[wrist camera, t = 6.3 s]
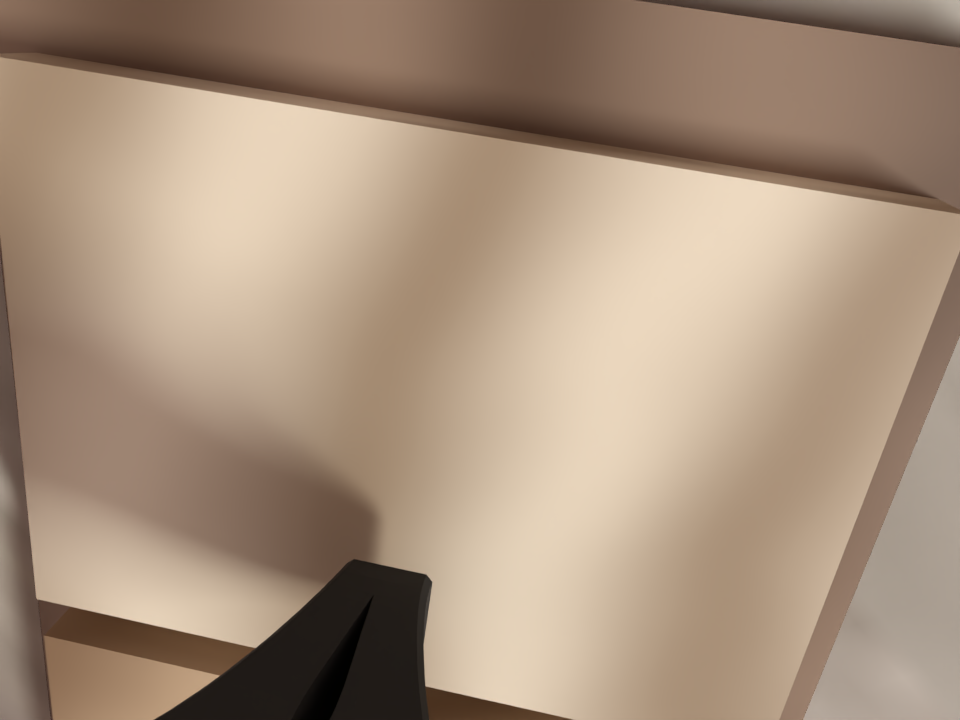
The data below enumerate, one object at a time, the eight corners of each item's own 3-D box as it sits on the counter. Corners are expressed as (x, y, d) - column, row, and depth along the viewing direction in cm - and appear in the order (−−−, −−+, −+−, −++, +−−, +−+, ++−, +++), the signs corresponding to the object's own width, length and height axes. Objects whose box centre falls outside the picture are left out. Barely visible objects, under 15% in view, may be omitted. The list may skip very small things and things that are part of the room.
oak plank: (939, 198, 12) (973, 216, 11) (752, 710, 16) (763, 762, 14) (35, 52, 13) (-19, 54, 12) (74, 561, 17) (36, 599, 16)
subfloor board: (1018, 59, 12) (1122, 67, 10) (695, 903, 20) (707, 1025, 18) (29, -87, 13) (-104, -111, 11) (95, 758, 21) (29, 853, 19)
